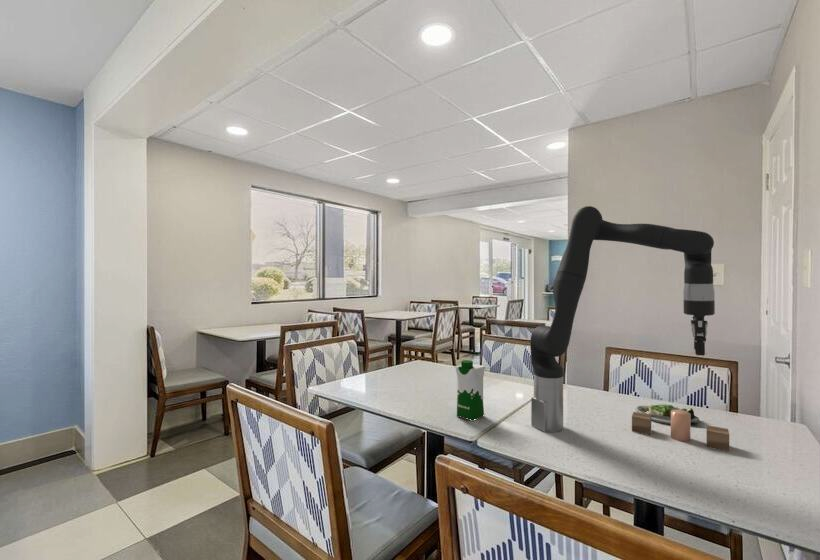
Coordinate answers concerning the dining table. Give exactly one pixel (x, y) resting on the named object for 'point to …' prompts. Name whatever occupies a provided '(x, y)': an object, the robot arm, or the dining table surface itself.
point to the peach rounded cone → (680, 425)
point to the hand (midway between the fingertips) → (699, 352)
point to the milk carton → (470, 390)
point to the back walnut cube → (641, 423)
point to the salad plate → (665, 413)
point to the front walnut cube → (717, 438)
